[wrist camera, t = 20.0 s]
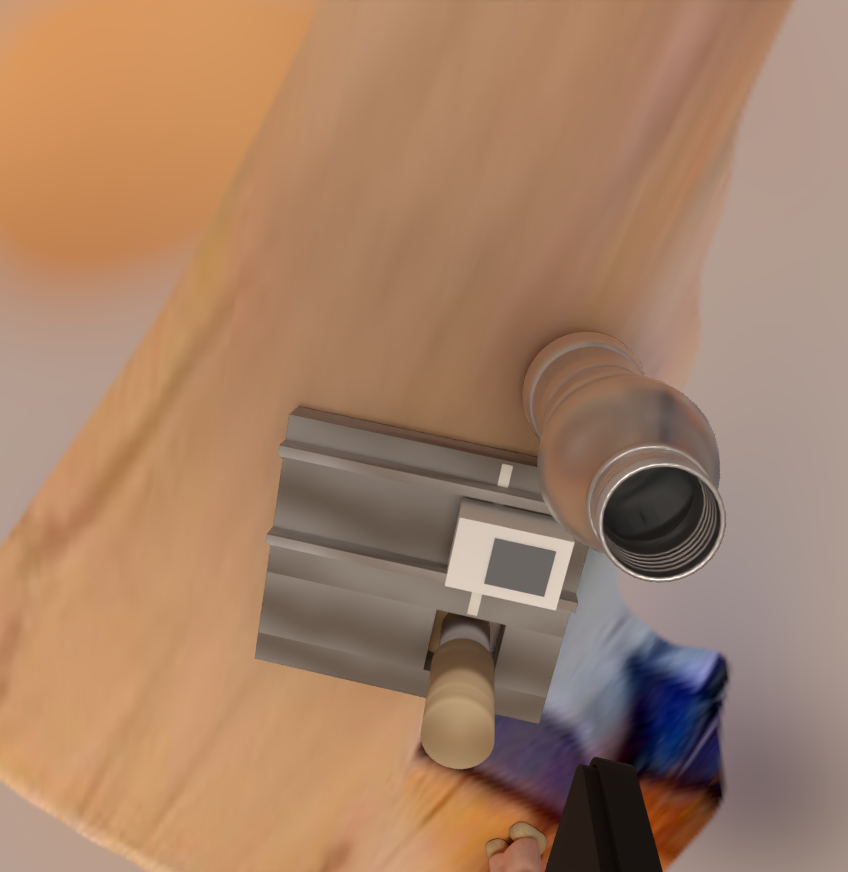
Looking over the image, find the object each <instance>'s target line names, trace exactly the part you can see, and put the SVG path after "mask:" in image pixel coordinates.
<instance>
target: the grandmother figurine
mask: <svg viewBox="0 0 848 872" xmlns="http://www.w3.org/2000/svg"><path fill="white" fill-rule="evenodd" d="M509 834H510V837H511V839H512V840H513V841H514V842H513V843H512V844H511V846H509V845H508V844H507V843H506V842H505V841H504V840H502V839H494V840H492V841H489V842H488V843H487V845H486V852H487V855H488V858H489V860H490V861H489V866H490V872H545V869H546V865H545V863H543V862H542V861H541V856H540V855H541V854H542V853H543V852H544V850H545V848H546V845H547V839H546V837H545V836H544V834H542V833H541V832H539V831H538V830H536V829H535V828H533V827H532V826H531V825H529V824H527V823H525V822H519V823H516V824H515V825H513V826H512V827H511V828H510V830H509Z"/></svg>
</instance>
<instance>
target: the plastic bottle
mask: <svg viewBox="0 0 848 872" xmlns="http://www.w3.org/2000/svg"><path fill="white" fill-rule="evenodd" d="M522 401H523V409H524V412H525V416H526V419H527V421H528V423H529V425H530V427H531V428H532V430H533V431H534V433H535V434H536V435H537V436H538V438H539V439H540V443H539V450H538V459H537V464H538V465H537V470H538V480H539V486H540V490H541V493H542V496H543V500H544V502H545V504H546V506H547V507H548V509H549V511H550V513H551V515H552V516H553V517H554V519H555V520H556V521H557V522H558V523H559V525H560V526H561V527H562V528H563V529H564V530H565V531H567V532H568V533H569V534H570V535H571V536H573V537H574V538H575V539H577V540H578V541H579V542H581V543H582V544H584V545H586V546H588V547H590V548H592V549H594V550H595V551H598V552H601V553H604V554H606V555H607V556H608V557H609V559H610V560H611V561H612V562H613V563H614V564H615V565H616V566H617V567H618V568H620V569H621V570H622V571H624V572H625V573H627V574H629V575H631V576H633V577H634V578H638V579H641V580H644V581H649V582H671V581H675V580H679V579H682V578H685V577H687V576H689V575H692V574H694V573H695V572H697V571H698V570H699V569H701V568H702V567H704V566H705V565H706V564H707V563H708V562H709V561H710V560H711V559H712V557H713V556H714V555H715V553H716V552H717V550H718V549H719V547H720V544H721V542H722V539H723V537H724V532H725V527H726V514H725V513H726V512H725V508H724V504H723V501H722V498H721V496H720V494H719V492H718V486H719V480H720V460H719V450H718V446H717V442H716V438H715V434H714V432H713V430H712V428H711V426H710V424H709V422H708V420H707V418H706V417H705V416H704V414H703V413H702V412H701V410H700V409H699V408H698V406H697V405H696V404H695V403H694V402H692V401H691V400H690V399H689V398H688V397H687V396H685V395H684V394H683V393H681V392H680V391H678V390H676V389H674V388H672V387H670V386H668V385H667V384H664V383H663V382H661V381H658V380H655V379H651V378H648V377H646V375H645V373H644V370H643V368H642V366H641V364H640V362H639V360H638V359H637V358H636V356H635V355H634V354H633V352H632V351H631V350H630V349H629V348H628V347H626V346H625V345H624V344H623V343H622V342H620V341H618V340H616V339H615V338H613V337H611V336H608V335H605V334H601V333H598V332H586V331H585V332H576V333H571V334H568V335H565V336H562V337H560V338H558V339H556V340H554V341H552V342H551V343H549V344H548V345H547V346H546V347H545V348H543V349H542V350H541V351H540V352H539V353H538V355H537V356H536V357H535V358H534V360H533V361H532V363H531V365H530V367H529V368H528V370H527V373H526V376H525V379H524V383H523V391H522Z"/></svg>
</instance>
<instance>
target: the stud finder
mask: <svg viewBox="0 0 848 872" xmlns="http://www.w3.org/2000/svg"><path fill="white" fill-rule="evenodd" d="M574 543H575V542H574V538H573V536H571V535H570V534H569V533H568V532H567V531H565V530H564V529H563V528H562V527H561V526H560V525H559V523H558V522H557V521H556V520H555V519H554V517H551V516H546V515H542V514H537V513H533V512H528V511H523V510H519V509H514V508H509V507H505V506H500V505H496V504H491V503H486V502H482V501H477V500H472V499H468V498H463V497H462V502H461V506H460V511H459V515H458V520H457V524H456V529H455V533H454V538H453V542H452V547H451V551H450V556H449V560H448V566H447V573H446V580H445V586H447V587H452V588H456V589H461V590H465V591H470V592H474V593H479V594H483V595H488V596H492V597H497V598H501V599H506V600H510V601H515V602H519V603H524V604H528V605H533V606H537V607H542V608H546V609H551V610H555V611H556V608H557V604H558V601H559V597H560V593H561V590H562V586H563V583H564V579H565V575H566V572H567V568H568V564H569V561H570V557H571V554H572V550H573V546H574Z"/></svg>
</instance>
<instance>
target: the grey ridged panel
mask: <svg viewBox="0 0 848 872" xmlns="http://www.w3.org/2000/svg"><path fill="white" fill-rule="evenodd" d="M278 456H282V457H283V462H282V469H281V476H280V483H279V490H278V497H277V504H276V511H275V518H274V525H273V527H272V528H271V530H270V531H269V532H268V533H267V537H266V544H269V545H271V546H270V553H269V561H268V568H267V575H266V582H265V589H264V596H263V603H262V610H261V617H260V624H259V631H258V638H257V645H256V652H255V659H259V660H263V661H268V662H272V663H276V664H281V665H285V666H290V667H294V668H298V669H303V670H307V671H311V672H316V673H320V674H324V675H329V676H333V677H337V678H342V679H346V680H350V681H355V682H359V683H364V684H368V685H372V686H377V687H381V688H385V689H390V690H394V691H398V692H403V693H407V694H411V695H416V696H420V697H424V698H426V696H427V690H428V683H429V677H430V670H431V664H432V658H433V655H434V653H431V652H427V651H428V646H429V642H430V637H431V633H432V628H433V624H434V619H435V615H436V610H441V611H445V612H450V613H454V614H459V615H463V616H468V617H472V618H477V619H481V620H486V621H490V622H495V623H499V624H502V625H501V629H500V633H499V637H498V641H497V645H496V649H495V653H494V657H493V661H494V714H498V715H503V716H507V717H511V718H516V719H520V720H525V721H529V722H533V723H538V724H539V721H540V718H541V714H542V711H543V707H544V704H545V700H546V696H547V693H548V689H549V686H550V682H551V679H552V675H553V672H554V668H555V665H556V661H557V658H558V654H559V650H560V647H561V643H562V640H563V636H564V633H565V629H566V626H567V622H568V619H569V615H570V612H575V613H576V609H577V606H578V600H577V596H576V590H577V587H578V583H579V580H580V576H581V573H582V569H583V566H584V562H585V559H586V555H587V551H588V548H589V547H588V546H586V545H584V544H582V543H581V542H579V541H578V540H577V539H575V538H574V537H573V538H574V542H575V543H574V546H573V550H572V554H571V557H570V561H569V564H568V568H567V572H566V575H565V579H564V583H563V586H562V590H561V593H560V597H559V601H558V604H557V608H556V611H555V610H551V609H546V608H542V607H537V606H533V605H528V604H524V603H519V602H515V601H510V600H506V599H501V598H497V597H492V596H488V595H483V594H479V593H474V592H470V591H465V590H461V589H456V588H452V587H447V586H445V580H446V573H447V566H448V560H449V556H450V551H451V547H452V542H453V538H454V533H455V529H456V524H457V520H458V515H459V511H460V506H461V502H462V497H463V498H468V499H472V500H477V501H482V502H486V503H491V504H496V505H500V506H505V507H509V508H514V509H519V510H523V511H528V512H533V513H537V514H542V515H546V516H551V517H553V516H552V515H551V513H550V511H549V509H548V507H547V506H546V504H545V502H544V500H543V496H542V493H541V490H540V486H539V480H538V470H537V465H538V464H537V459H538V457H534V456H529V455H525V454H520V453H515V452H510V451H506V450H501V449H496V448H492V447H487V446H482V445H478V444H473V443H468V442H463V441H459V440H454V439H449V438H445V437H440V436H435V435H431V434H426V433H421V432H416V431H412V430H407V429H402V428H398V427H393V426H388V425H384V424H379V423H374V422H369V421H365V420H360V419H355V418H351V417H346V416H341V415H337V414H332V413H327V412H322V411H318V410H313V409H308V408H304V407H298V408H296V409H295V410H294V411H293V412H292V413H290V414H289V419H288V426H287V434H286V440H285V441H284V442H282V443H281V444H280V445H279V451H278Z"/></svg>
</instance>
